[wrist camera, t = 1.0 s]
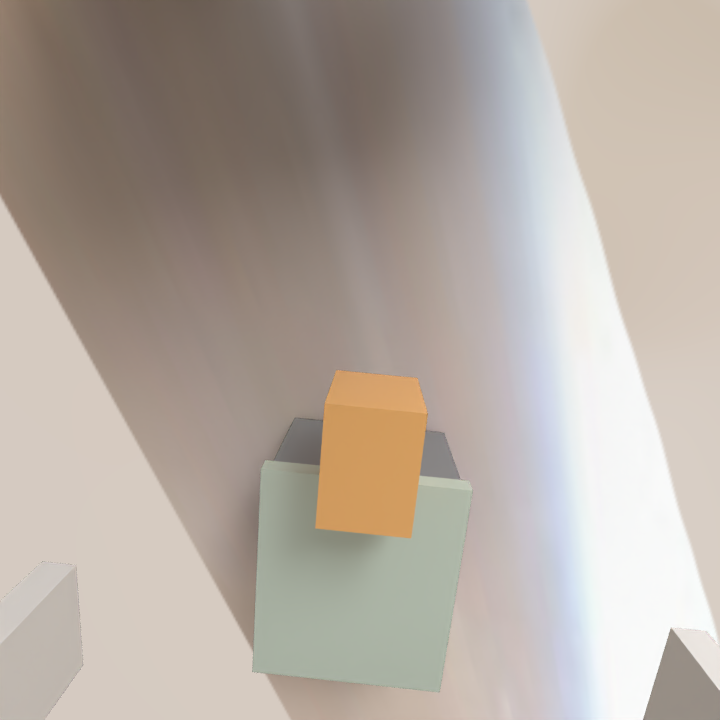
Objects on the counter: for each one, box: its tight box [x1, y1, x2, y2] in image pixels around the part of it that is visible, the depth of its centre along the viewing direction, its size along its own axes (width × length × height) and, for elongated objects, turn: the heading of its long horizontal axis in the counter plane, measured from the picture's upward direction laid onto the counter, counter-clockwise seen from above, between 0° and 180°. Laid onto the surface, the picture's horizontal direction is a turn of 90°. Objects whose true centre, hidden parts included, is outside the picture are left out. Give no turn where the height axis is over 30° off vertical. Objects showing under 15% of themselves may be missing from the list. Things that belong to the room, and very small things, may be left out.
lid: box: [252, 370, 473, 692], centre depth 23 cm, size 18×11×6 cm, turn 175°
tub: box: [274, 418, 460, 480], centre depth 29 cm, size 12×10×7 cm
